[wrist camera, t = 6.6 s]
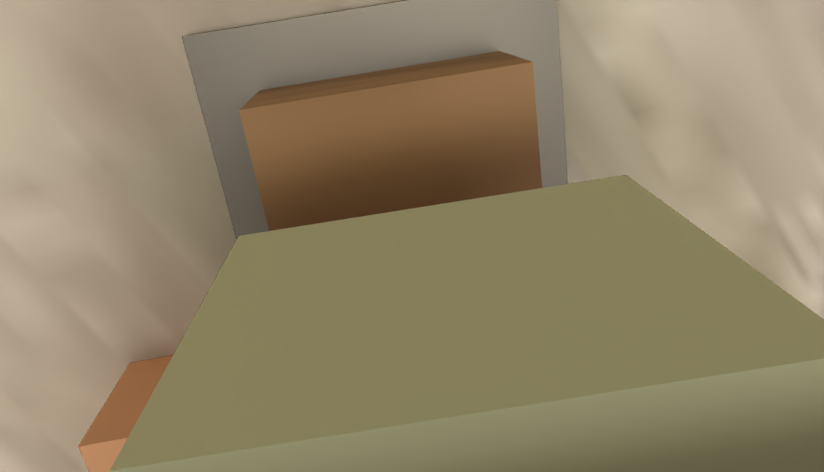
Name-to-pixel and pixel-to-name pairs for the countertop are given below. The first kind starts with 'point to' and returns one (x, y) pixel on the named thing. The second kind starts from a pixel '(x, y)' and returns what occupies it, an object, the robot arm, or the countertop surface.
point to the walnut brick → (394, 139)
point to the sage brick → (491, 348)
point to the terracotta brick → (121, 413)
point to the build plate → (366, 70)
